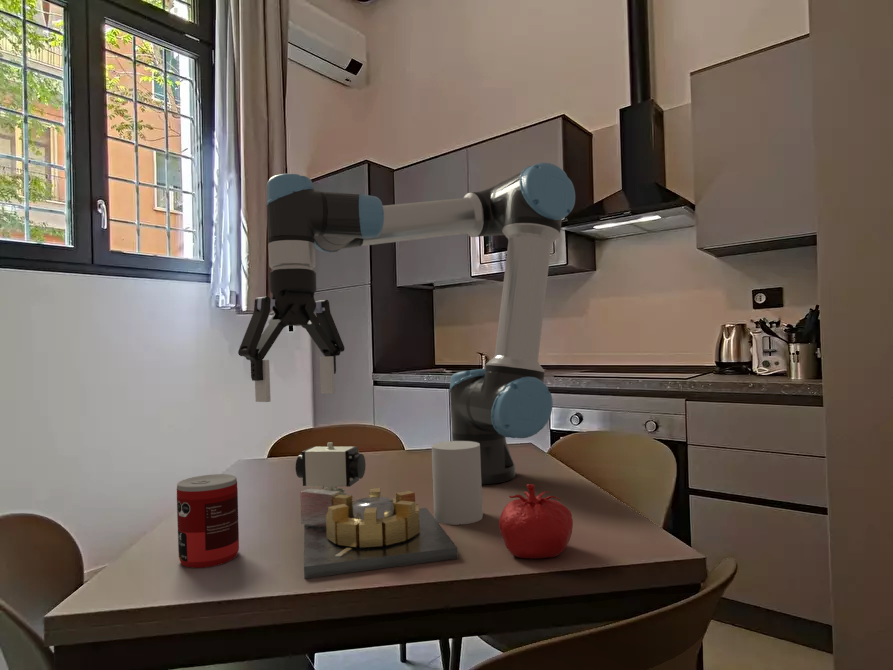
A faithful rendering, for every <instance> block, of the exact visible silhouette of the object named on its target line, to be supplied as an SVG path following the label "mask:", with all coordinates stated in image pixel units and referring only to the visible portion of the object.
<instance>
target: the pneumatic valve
mask: <svg viewBox="0 0 893 670" xmlns="http://www.w3.org/2000/svg"><path fill="white" fill-rule="evenodd" d="M366 465H367V464H366V457H365V455H364V454H363V453H360V451H359V447H358V446H334V443H333V442H330V441H329V442H327V446H311V447H309V448H307V449H305V450H302V451H301V453H300V454H298V456H297V458H296V461H295V473H296V476H297V478H299V479H300V480H301V481H302V486H303V487H320V490H329V491H339V493H340V495H348V494H347V493H346V492H345V491H346V490H345V489H344V488H343V487H345V488H346V487H351V486H353V485H355V484H356V483H357V482H358V481H360V479H363V477H364V476H365V473H366ZM338 487H342V488H338Z"/></svg>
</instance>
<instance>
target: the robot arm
mask: <svg viewBox="0 0 893 670" xmlns="http://www.w3.org/2000/svg"><path fill="white" fill-rule="evenodd" d="M314 188H315V187H314V186H313V182H312V179H311V178H309V176H306V175H300V174H297V173H280V174H276V175H273V176H271V177H270V178H269V179H268V180H267V183H266V204H265V207H266V218H267V219H266V221H267V241H268V243H267V244H268V248H267V249H268V267H269V268H270V269H272V270H271V271H269V273H268V274H269V275H268V277H269V291H270V293H271V294H272V297H270V296H267V295H265V296H261V297H256V298H255V299H254V304H253V306H254V308H253V313H252V316H251V318H250V320H249V323H248V326H247V328H246V331H245V333H244V335H243V338H242V341H241V342H240V345H239V348H238V351H237V353H238V355H239V357H244V358H245V360H246V361H249V362H250V377H251V380H252V381H253V382H254V390H255V391H254V394H255V395H254V396H255V397H254V398H255V402H256V403H257V402H259V403H269V402H271V401H272V400H271V378H270V377H271V376H270V375H271V374H270V360H269V359H264V358H265V357H266V355H267V354H268V353H269V351H270V349H271V348H272V346H273V345H274V343H276V340H277V339H278V337H279V335H280V334H281V332H282V331H283V329H284V328H286V327H288V326H294V327H300V326H301V327H302V328H303V329H305V330H306V332H307V333H308V335H309V336H310V337H311V339H312V340H313V342H314V343H315V345H316V346H317V348H318V349H319V350H320V352H321V353H322V354H323V356H319V374H320V375H319V377H320V380H319V381H320V394H323V395H324V394H327V395H329V394H331V395H332V394H336V393H335V392H336V391H335V389H336V388H335V387H336V386H335V385H336V384H335V374H336V373H337V361H336V359H337V358H336V357H337V356H338V357H339V356H340V355H341V353H342V352H345V345H344V342H343V341H342V337H341V335H340V333H339V330H338V328H337V325H336V324H335V321H334V318H333V316H332V313H331V307H330V301H329V300H328V299H323V300H315V293H316V292H317V273H316V272H315V270H313V269H315V268H316V264H317V263H316V250H318V251H319V252H322V253H326V254H329V253H337V252H339V251H341V250H344V249H351V248H358V247H362V246H363V247H364V246H374V245H380V244H389V243H397V242H398V243H399V242H406V241H416V240H423V239H431V238H438V237H440V238H441V237H447V236H455V235H465V234H467V235H468V236H469V237H471V238H477V237H478V238H479V237H489V236H492V237H493V236H505V238H506V239H507V242H508V243H507V251H506V260H505V267H504V268H505V269H504V277H503V284H502V293H501V299H500V300H501V301H500V308H499V309H500V310H499V317H498V324H497V325H498V326H497V335H496V342H495V348H494V349H495V350H494V351H495V352H494V356H493V357H492V358H491V359H490V360H488V361H487V362H485V363H486V364H485V368H480V369H471V370H462V371H458V372H455V373H453V374H452V375H451V377H450V383H449V393H450V394H449V395H450V396H449V397H450V399H449V400H450V417H451V421H450V422H451V439H452V440H451V441H471V442H477V443H479V444H480V459H481V485H492V484H493V485H494V484H499V483H504V482H505V483H506V482H508V481H511V480H513V479H515V477H516V465H515V462H514V459H513V457H512V454H511V451H510V448H509V445H508V443H507V438H512V439H527V438H530V437H533V436H535V435H537V434H538V433H539V432H540V431H542V430H543V429H544V427H545V426H546V425H547V424H548V422H549V420H550V418H551V415H552V413H553V411H552V410H553V402H554V401H553V396H552V392H551V391H549V387H548V386H547V385H546V383H545V382H544V380H545V373H546V372H545V369H544V368H543V367H542V365H540V362H539V357H540V347H541V339H542V337H541V336H542V331H543V330H542V328H543V322H544V320H543V319H544V310H545V302H546V296H547V295H546V294H547V284H548V277H549V276H548V275H549V266H550V258H551V248H552V244H553V243H554V242H555V241H557V240H558V239H559V238H560V237H561V230H562V220H563V219H564V218H566V217H568V216H569V214H570V213H571V212H572V211H573V209H574V207H575V205H576V190H575V186H574V183H573V182H572V180H571V179H570V178H569V177H568V175H567V173H566V172H565V170H564V169H562V168H561V167H560V166H558V165H557V164H554V163H551V162H540V163H539V162H538V163H536V164H534V165H529V166H526V167H525V168H524V169H522V171H520V172H519V173H516V174H515V175H513V176H511V177H509V178H507V179H505V180H503V181H501V182H500V183H498V184H496V185H493V186H491V187H489V188H487V189H483V190H479V191H477V192H476V191H474V192H467V193H466V194H465V195H464V196H463V198H462V197H461V198H452V199H449V198H448V199H441V200H440V199H439V200H438V199H437V200H430V201H419V202H418V201H417V202H408V203H396V204H388V205H387V204H386V205H383V202H382V200H381V199H380V198H379V197H377V196H374V195H369V194H363V193H357V194H356V193H345V192H329V191H328V192H327V191H321V190H320V191H319V190H315V189H314ZM271 311H272V312H273V315H272V316H271V317H270V319H269V316H270V313H271ZM314 312H315V313H314ZM268 319H269V320H268ZM267 322H268V325H267V326H266V324H267ZM265 327H266V328H265Z"/></svg>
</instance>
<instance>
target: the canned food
mask: <svg viewBox="0 0 893 670" xmlns="http://www.w3.org/2000/svg"><path fill="white" fill-rule="evenodd" d="M238 489H239V488H238V479H237V475H233V474H224V473H223V474H221V473H220V474H219V473H216V474H215V473H214V474H205V475H198V476H192V477H188V478H186V479H182V480H180V481H178V482H177V484H176V512H177V513H176V514H177V515H176V518H177V541H178V542H177V543H178V544H177V546H178V550H177V551H178V560H179V561H180V564H181V565H182V566H183V567H186V568H192V569H202V568H203V569H204V568H212V567H215V566H220V565H224V564H226V563H229V562H231V561H232V560H234V559H235V558H236V557H237V556H238V553H239V549H240V542H239V541H240V537H239V536H240V535H239V533H240V532H239V496H238V495H239V494H238V491H239V490H238Z"/></svg>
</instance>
